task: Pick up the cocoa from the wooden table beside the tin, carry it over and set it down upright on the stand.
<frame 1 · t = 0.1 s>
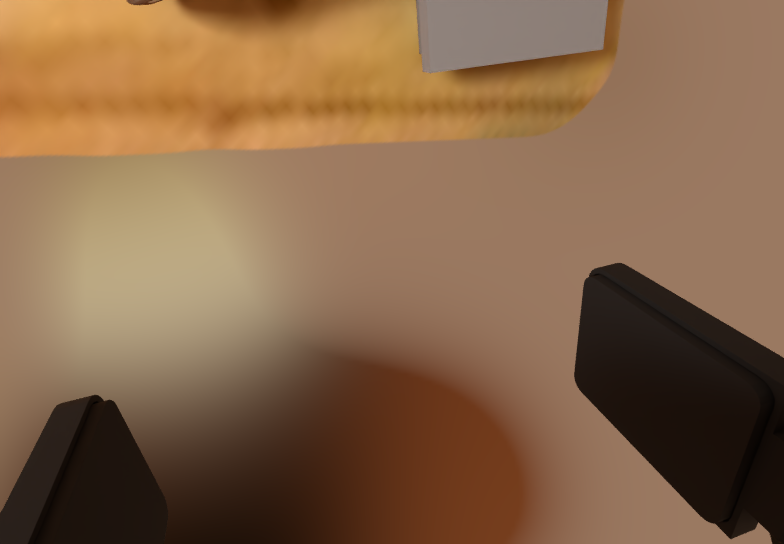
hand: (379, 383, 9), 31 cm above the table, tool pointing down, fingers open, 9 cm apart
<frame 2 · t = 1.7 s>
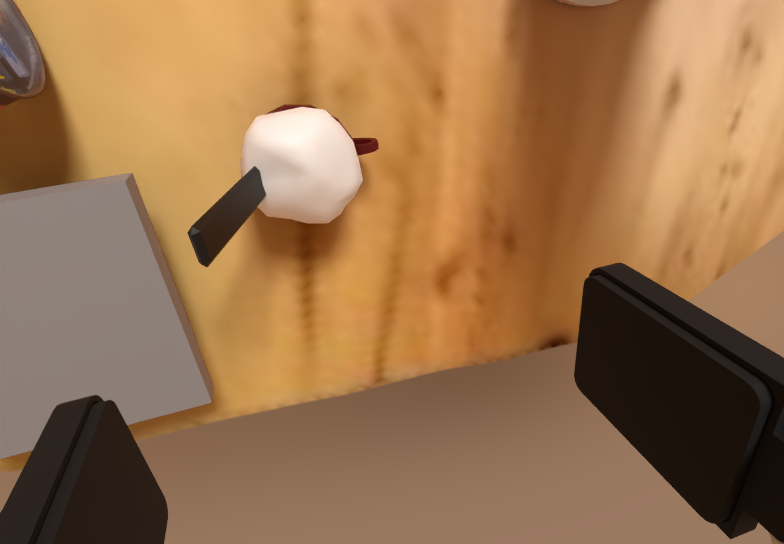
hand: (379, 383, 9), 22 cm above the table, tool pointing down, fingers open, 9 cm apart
stand: (63, 292, 28), on the table
cocoa: (290, 150, 28), on the table
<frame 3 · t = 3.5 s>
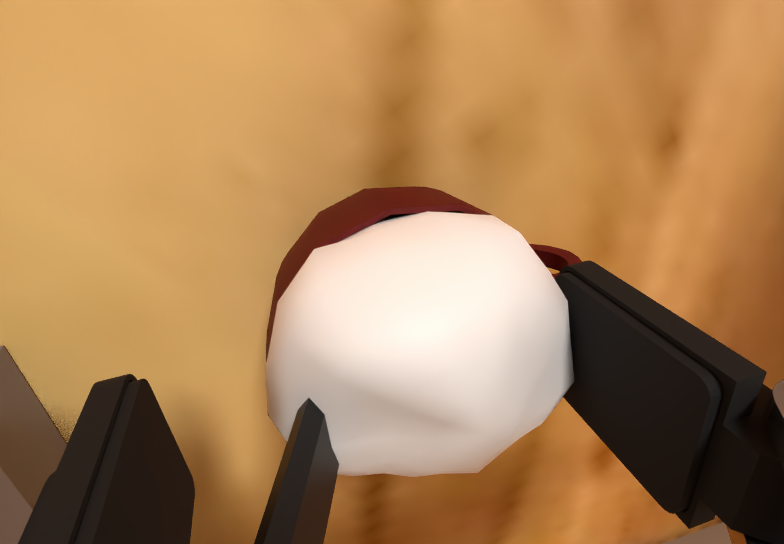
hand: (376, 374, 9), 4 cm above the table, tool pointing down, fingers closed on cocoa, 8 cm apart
cocoa: (366, 264, 13), on the table, touching gripper
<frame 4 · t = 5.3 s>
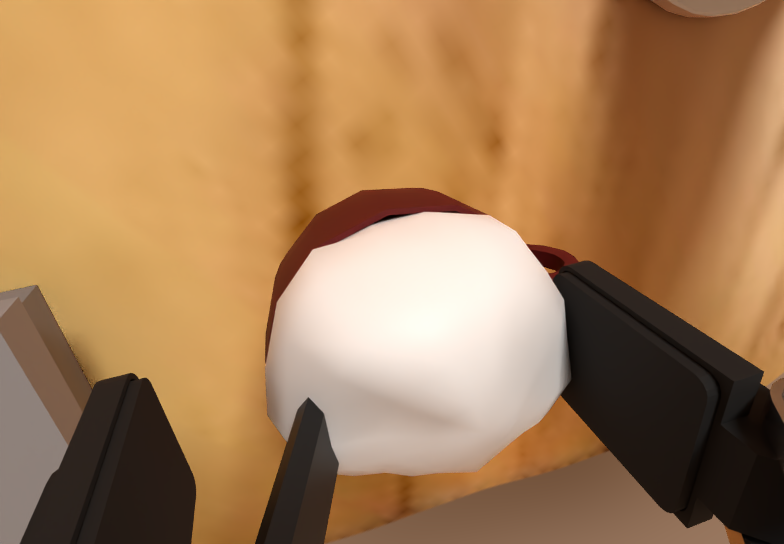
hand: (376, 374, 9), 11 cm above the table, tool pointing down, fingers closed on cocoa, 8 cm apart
cocoa: (363, 266, 13), point 7 cm above the table, touching gripper
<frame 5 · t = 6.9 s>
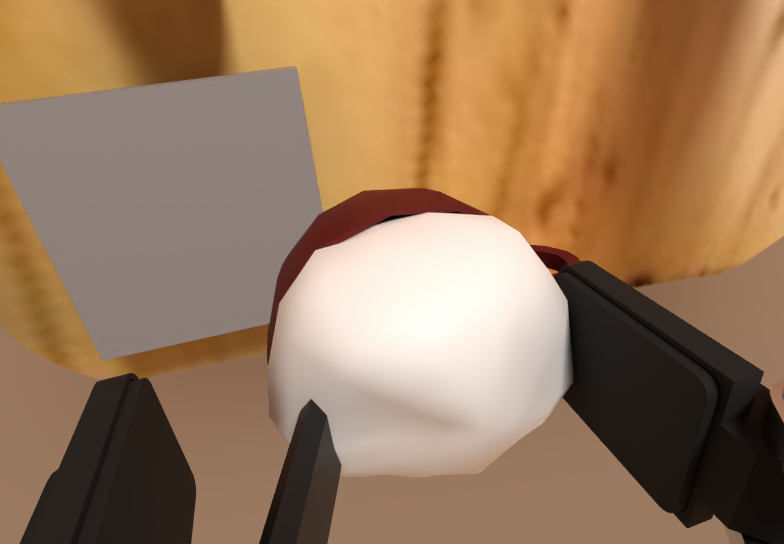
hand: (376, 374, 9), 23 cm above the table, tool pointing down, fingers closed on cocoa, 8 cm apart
stand: (200, 198, 29), on the table
cocoa: (365, 266, 13), point 18 cm above the table, touching gripper
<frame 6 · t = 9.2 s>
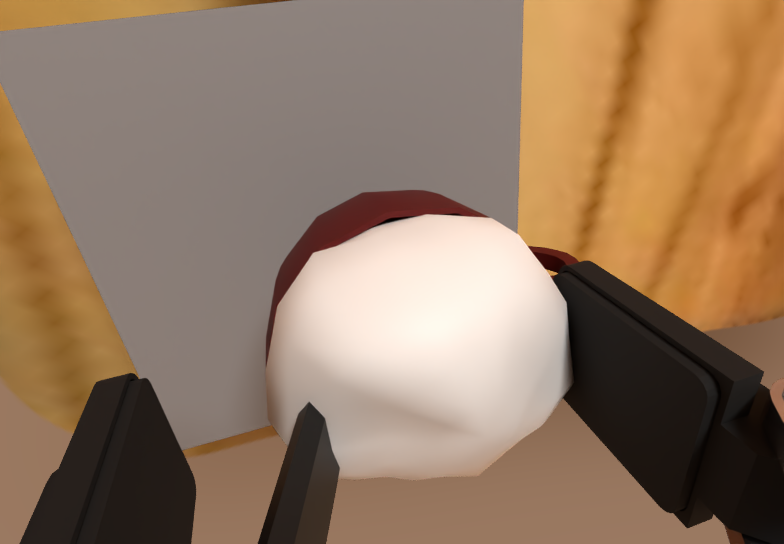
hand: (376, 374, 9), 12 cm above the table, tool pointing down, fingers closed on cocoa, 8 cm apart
stand: (309, 199, 20), on the table
cocoa: (364, 268, 13), point 8 cm above the table, touching gripper
when the fingers open (10 cm above the table, at t = 10.3 s): cocoa stays where it is, resting on stand.
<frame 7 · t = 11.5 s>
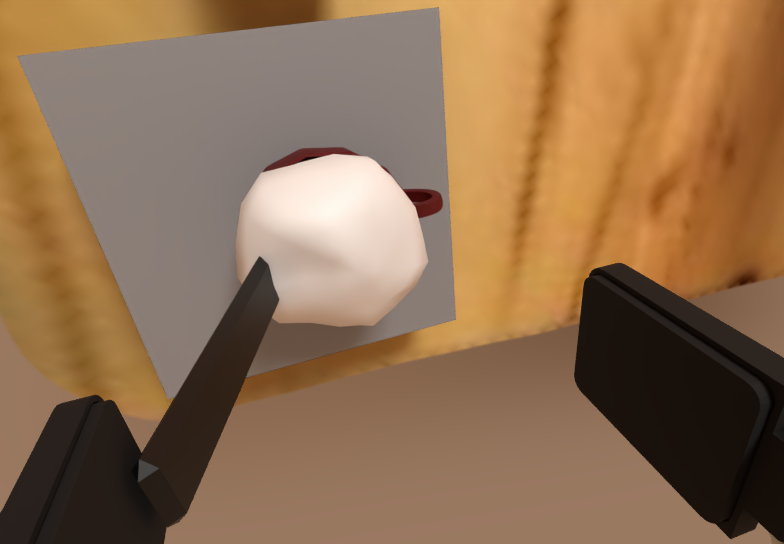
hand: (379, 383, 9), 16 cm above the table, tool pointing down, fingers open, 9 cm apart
stand: (280, 189, 23), on the table
cocoa: (306, 208, 19), point 5 cm above the table, touching gripper, stand
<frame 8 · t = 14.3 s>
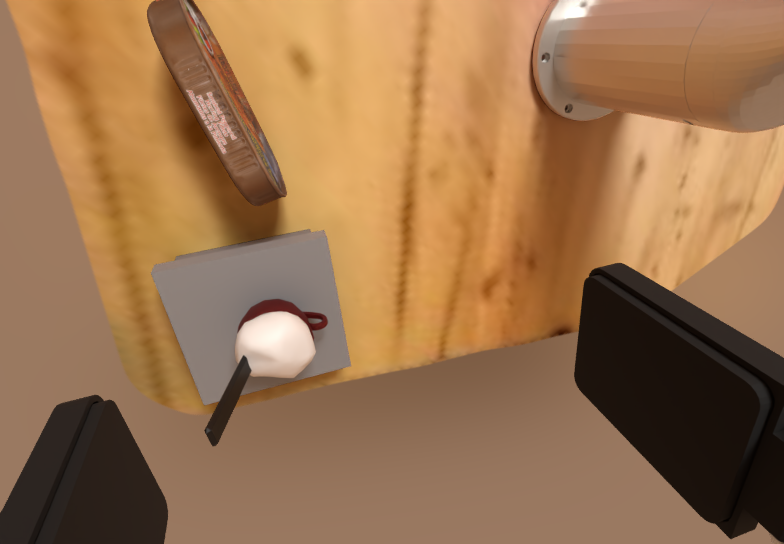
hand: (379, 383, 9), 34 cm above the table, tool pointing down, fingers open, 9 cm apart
stand: (260, 297, 45), on the table
cocoa: (269, 318, 41), point 5 cm above the table, touching stand
tin: (226, 102, 37), on the table
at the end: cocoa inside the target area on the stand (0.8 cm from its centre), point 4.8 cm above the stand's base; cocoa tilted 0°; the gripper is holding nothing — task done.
